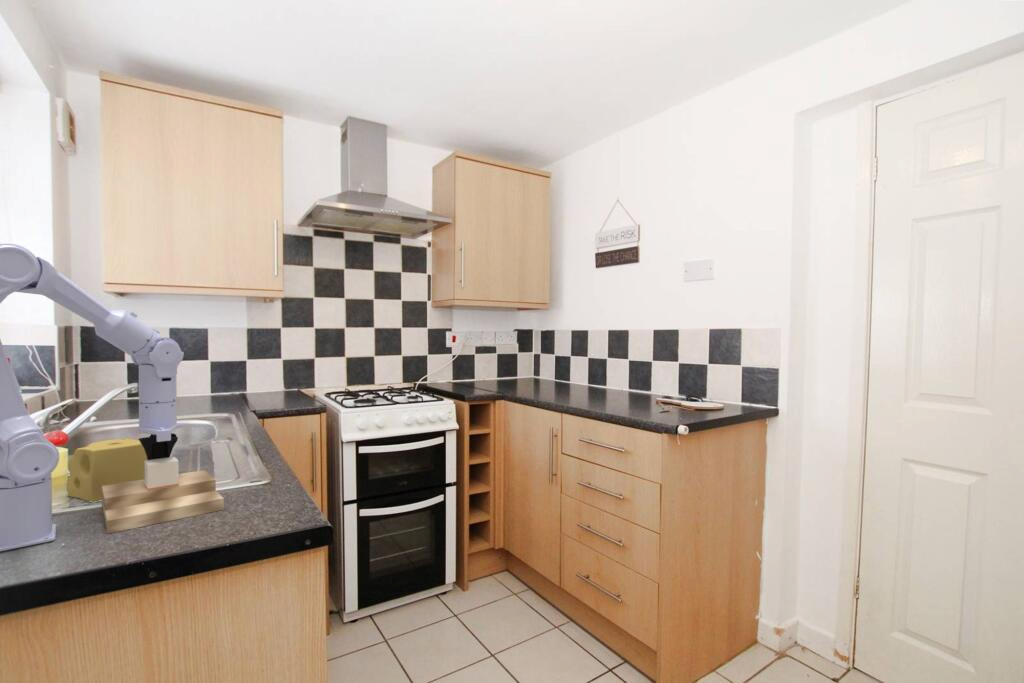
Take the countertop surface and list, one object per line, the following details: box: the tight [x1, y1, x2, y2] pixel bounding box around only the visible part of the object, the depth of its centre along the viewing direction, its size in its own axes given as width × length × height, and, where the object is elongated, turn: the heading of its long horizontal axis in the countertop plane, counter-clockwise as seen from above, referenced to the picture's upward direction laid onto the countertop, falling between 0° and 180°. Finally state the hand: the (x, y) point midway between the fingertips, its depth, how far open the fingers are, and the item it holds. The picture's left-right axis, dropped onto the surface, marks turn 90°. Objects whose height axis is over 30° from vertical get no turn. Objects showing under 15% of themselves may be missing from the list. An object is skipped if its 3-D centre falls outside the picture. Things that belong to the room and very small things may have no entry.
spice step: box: [101, 469, 225, 534], centre depth 88 cm, size 16×16×4 cm
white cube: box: [145, 456, 180, 491], centre depth 89 cm, size 4×4×4 cm
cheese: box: [66, 437, 147, 502], centre depth 99 cm, size 10×11×10 cm
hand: (158, 475), depth 92 cm, fingers closed
